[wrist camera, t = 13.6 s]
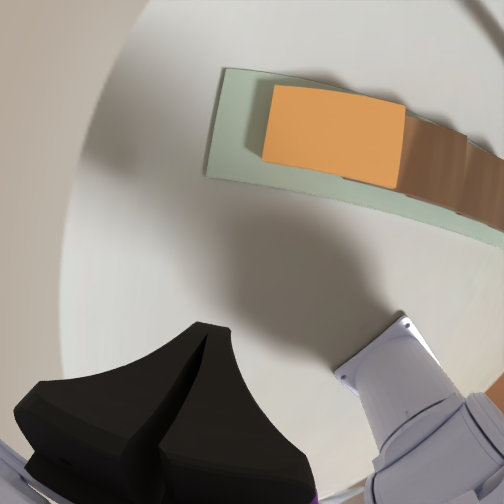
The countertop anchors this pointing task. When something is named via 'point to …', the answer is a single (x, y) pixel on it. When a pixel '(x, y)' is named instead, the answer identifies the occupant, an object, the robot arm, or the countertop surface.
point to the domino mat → (301, 180)
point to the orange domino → (335, 134)
